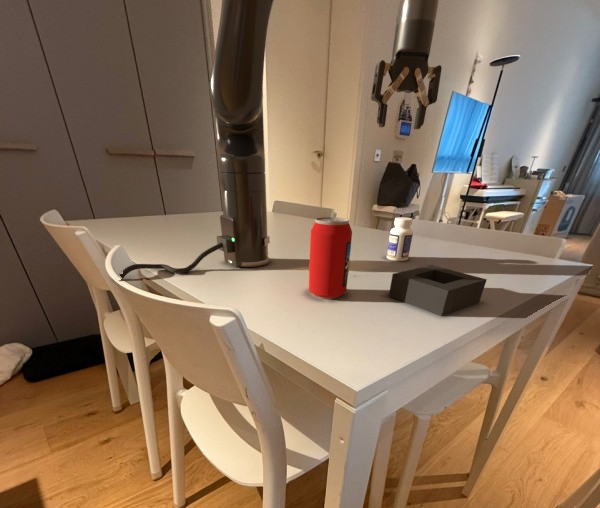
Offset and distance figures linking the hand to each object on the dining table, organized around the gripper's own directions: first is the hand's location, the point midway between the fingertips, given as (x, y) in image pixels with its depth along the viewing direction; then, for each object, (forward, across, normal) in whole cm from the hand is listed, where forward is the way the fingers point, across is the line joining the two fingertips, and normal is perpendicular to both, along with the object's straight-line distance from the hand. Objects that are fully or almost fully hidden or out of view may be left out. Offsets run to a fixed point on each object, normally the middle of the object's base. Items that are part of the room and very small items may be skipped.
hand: (399, 128), depth 76 cm
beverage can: (+27, -23, -33) cm, 48 cm away
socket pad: (+27, -5, -38) cm, 47 cm away
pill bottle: (+26, +1, -9) cm, 28 cm away
